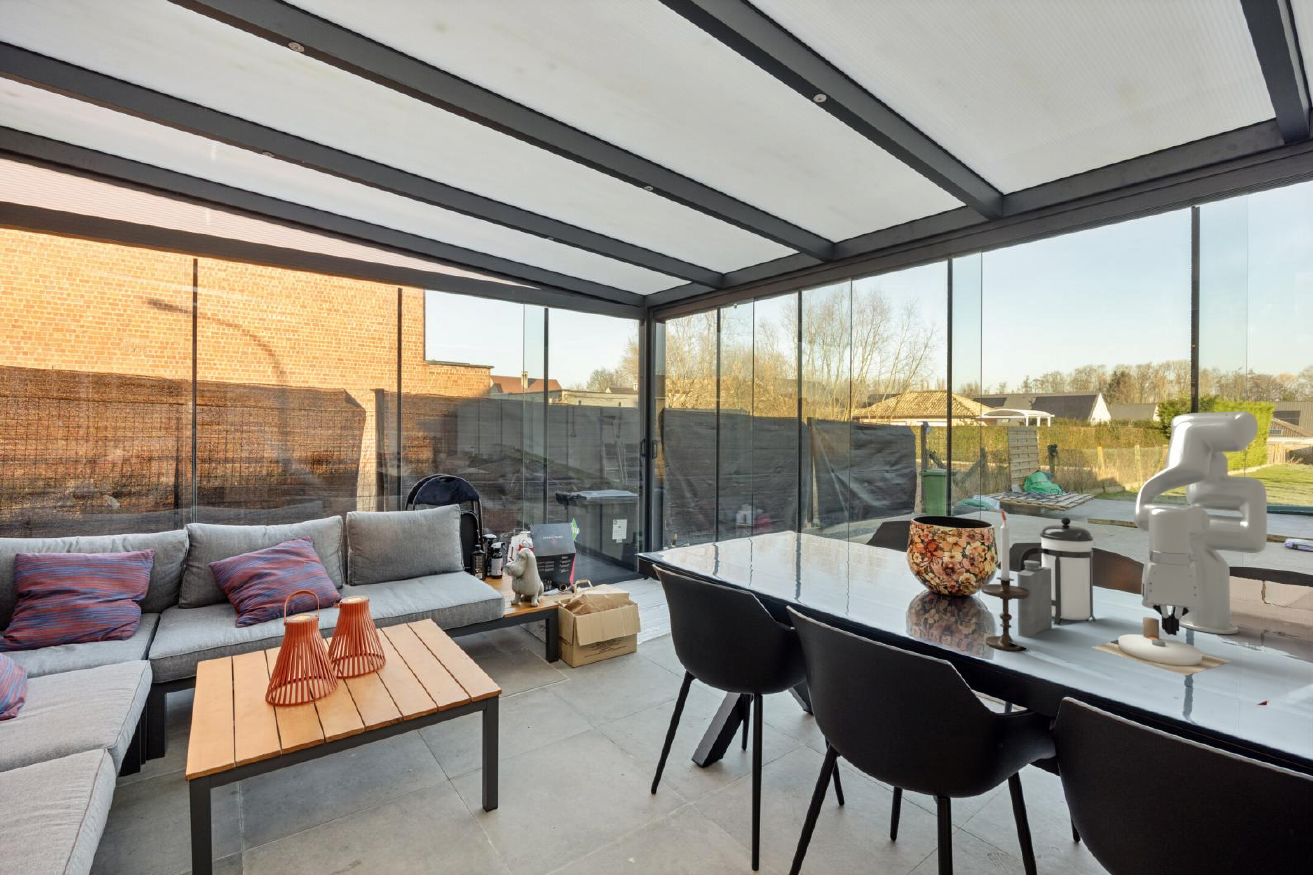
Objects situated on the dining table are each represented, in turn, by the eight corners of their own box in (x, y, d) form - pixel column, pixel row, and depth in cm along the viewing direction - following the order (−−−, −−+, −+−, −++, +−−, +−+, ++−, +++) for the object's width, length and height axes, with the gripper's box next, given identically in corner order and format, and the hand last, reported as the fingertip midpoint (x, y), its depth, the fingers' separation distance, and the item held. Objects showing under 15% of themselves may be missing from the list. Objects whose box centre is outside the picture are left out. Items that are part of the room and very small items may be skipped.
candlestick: (988, 650, 145) (986, 510, 145) (976, 636, 156) (975, 506, 156) (1037, 654, 142) (1036, 512, 143) (1022, 640, 153) (1021, 507, 153)
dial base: (1135, 642, 151) (1135, 635, 151) (1231, 667, 133) (1231, 660, 133) (1091, 653, 143) (1090, 646, 143) (1186, 682, 126) (1186, 673, 126)
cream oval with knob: (1212, 669, 128) (1212, 640, 128) (1127, 658, 135) (1126, 630, 135) (1186, 646, 143) (1186, 619, 143) (1110, 637, 150) (1110, 611, 150)
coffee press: (1048, 608, 181) (1046, 512, 181) (1108, 622, 167) (1107, 518, 167) (1018, 617, 172) (1017, 516, 172) (1079, 632, 158) (1078, 522, 158)
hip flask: (1029, 643, 150) (1028, 566, 150) (1012, 639, 153) (1011, 563, 153) (1053, 631, 160) (1052, 558, 160) (1037, 627, 163) (1036, 556, 163)
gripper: (1204, 558, 142) (1205, 633, 142) (1127, 553, 149) (1128, 624, 149) (1215, 564, 135) (1217, 643, 135) (1134, 558, 142) (1135, 633, 142)
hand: (1170, 633), depth 142 cm, fingers closed
